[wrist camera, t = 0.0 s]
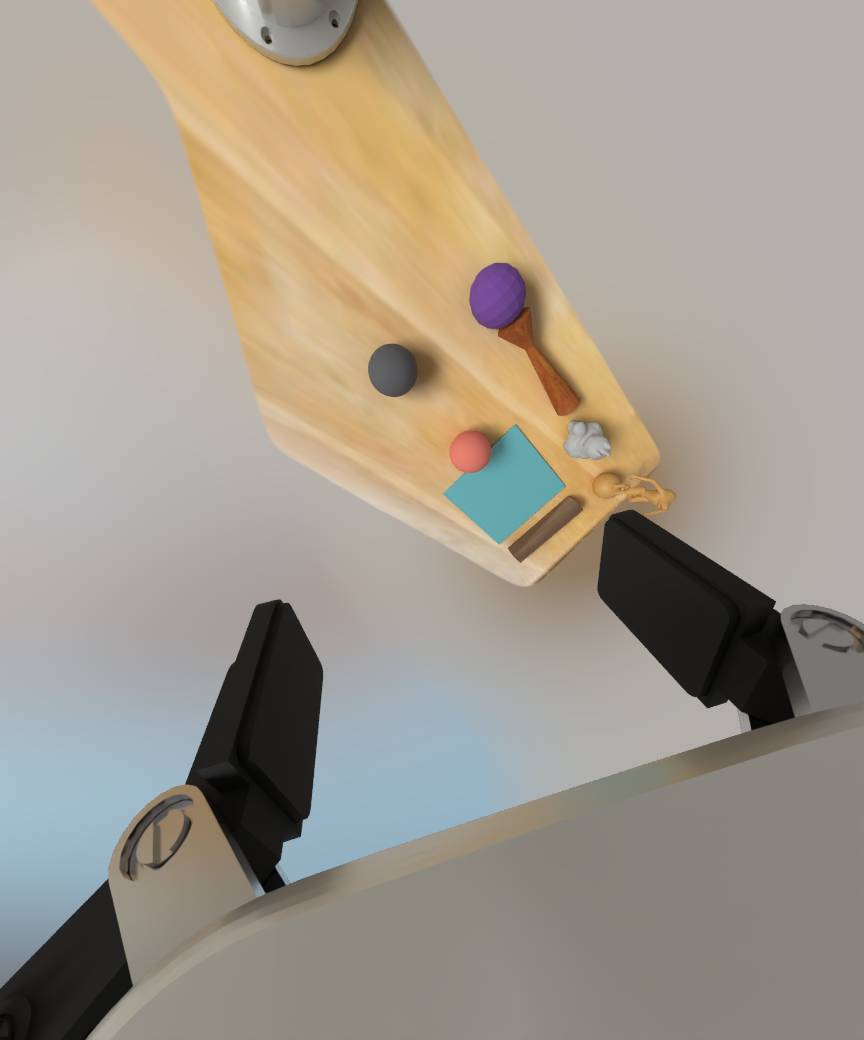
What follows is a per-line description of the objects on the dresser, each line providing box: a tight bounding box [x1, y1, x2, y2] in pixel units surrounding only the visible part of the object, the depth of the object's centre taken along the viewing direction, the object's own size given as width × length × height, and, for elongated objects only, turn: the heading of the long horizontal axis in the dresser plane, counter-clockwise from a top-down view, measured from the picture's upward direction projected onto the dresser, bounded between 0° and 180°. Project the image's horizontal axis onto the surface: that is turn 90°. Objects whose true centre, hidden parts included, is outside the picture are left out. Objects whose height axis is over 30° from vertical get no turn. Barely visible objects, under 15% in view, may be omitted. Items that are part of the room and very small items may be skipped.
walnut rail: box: [508, 496, 583, 563], centre depth 56 cm, size 2×13×2 cm, turn 134°
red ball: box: [450, 431, 491, 473], centre depth 45 cm, size 6×6×6 cm
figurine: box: [593, 473, 676, 514], centre depth 49 cm, size 8×6×12 cm
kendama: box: [469, 263, 580, 416], centre depth 41 cm, size 6×6×20 cm
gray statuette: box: [563, 421, 611, 460], centre depth 46 cm, size 5×7×8 cm
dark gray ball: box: [368, 344, 417, 397], centre depth 38 cm, size 6×6×6 cm
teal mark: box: [443, 425, 565, 544], centre depth 52 cm, size 14×14×1 cm
